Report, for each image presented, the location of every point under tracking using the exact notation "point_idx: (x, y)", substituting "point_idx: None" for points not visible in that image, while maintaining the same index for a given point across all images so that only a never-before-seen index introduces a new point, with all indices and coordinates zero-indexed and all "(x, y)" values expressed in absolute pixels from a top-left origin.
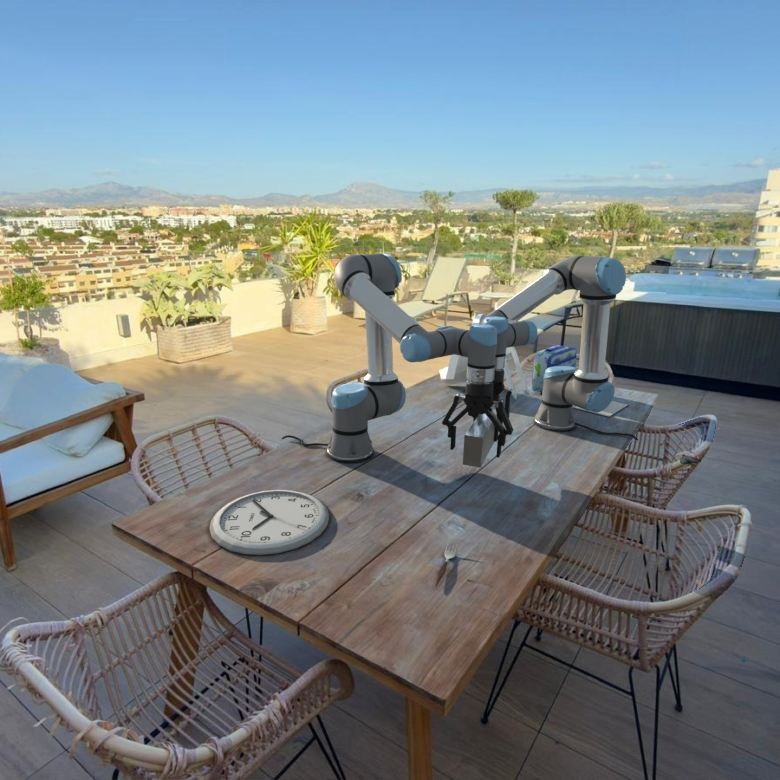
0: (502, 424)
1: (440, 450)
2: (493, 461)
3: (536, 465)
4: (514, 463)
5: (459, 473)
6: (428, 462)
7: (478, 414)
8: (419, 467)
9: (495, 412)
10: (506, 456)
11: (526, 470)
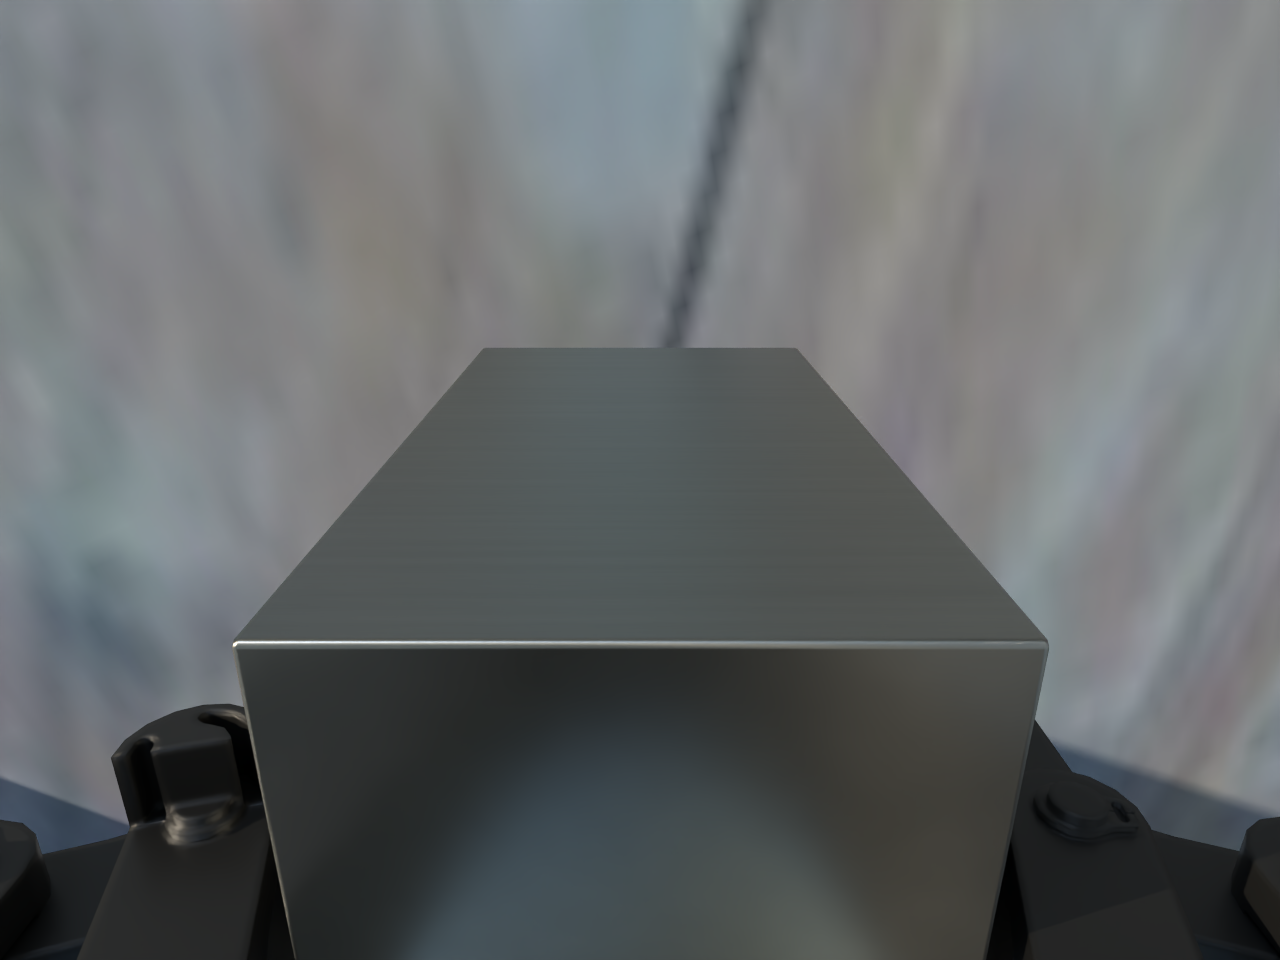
0: (1038, 738)
1: (3, 235)
2: (722, 291)
3: (1258, 184)
4: (980, 241)
5: None
6: (71, 607)
7: (268, 882)
8: (60, 735)
9: (894, 879)
10: (866, 48)
11: (1119, 381)
